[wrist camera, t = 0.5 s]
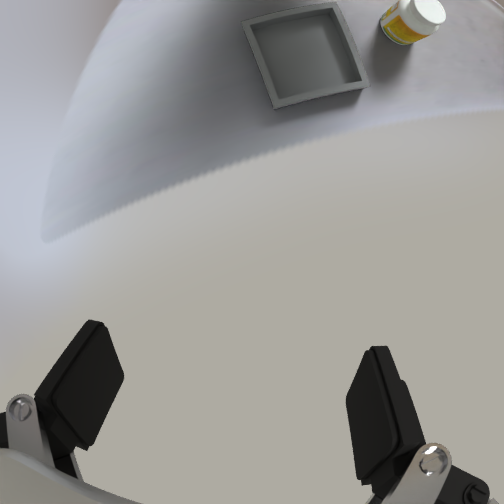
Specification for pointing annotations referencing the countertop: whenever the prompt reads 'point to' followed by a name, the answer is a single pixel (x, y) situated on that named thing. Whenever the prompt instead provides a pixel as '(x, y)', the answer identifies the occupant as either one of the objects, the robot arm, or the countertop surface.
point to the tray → (305, 53)
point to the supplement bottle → (412, 20)
